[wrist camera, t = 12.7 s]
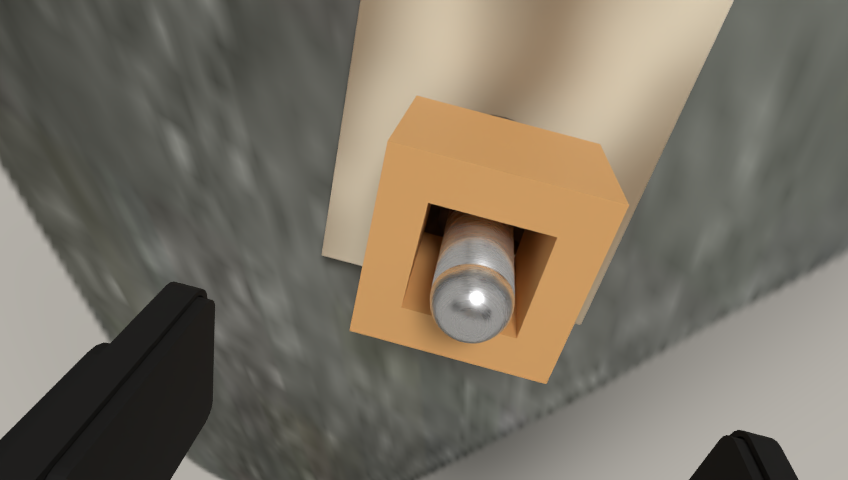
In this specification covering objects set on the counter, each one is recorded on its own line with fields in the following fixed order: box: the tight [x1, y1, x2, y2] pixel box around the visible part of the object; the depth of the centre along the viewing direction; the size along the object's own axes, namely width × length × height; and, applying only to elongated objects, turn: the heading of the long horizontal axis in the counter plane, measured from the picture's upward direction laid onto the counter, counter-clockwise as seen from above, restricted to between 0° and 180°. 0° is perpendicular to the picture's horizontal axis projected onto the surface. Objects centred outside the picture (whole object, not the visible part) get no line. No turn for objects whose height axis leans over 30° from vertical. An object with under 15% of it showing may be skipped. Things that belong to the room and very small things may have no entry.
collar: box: [350, 96, 629, 384], centre depth 18 cm, size 6×6×5 cm
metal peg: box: [424, 115, 525, 343], centre depth 17 cm, size 5×5×10 cm
